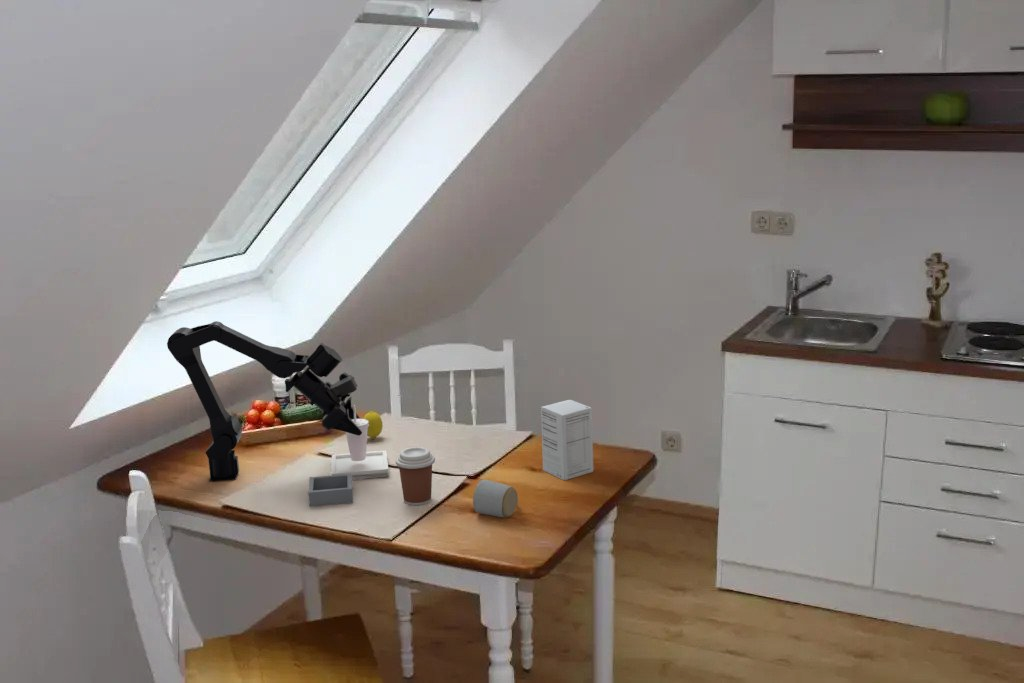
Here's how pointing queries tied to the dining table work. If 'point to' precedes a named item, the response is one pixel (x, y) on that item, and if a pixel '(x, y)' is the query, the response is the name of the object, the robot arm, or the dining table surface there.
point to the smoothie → (358, 439)
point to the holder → (330, 490)
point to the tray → (361, 465)
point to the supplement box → (567, 439)
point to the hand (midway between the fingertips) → (361, 430)
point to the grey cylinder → (494, 499)
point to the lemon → (373, 424)
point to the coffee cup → (416, 475)
